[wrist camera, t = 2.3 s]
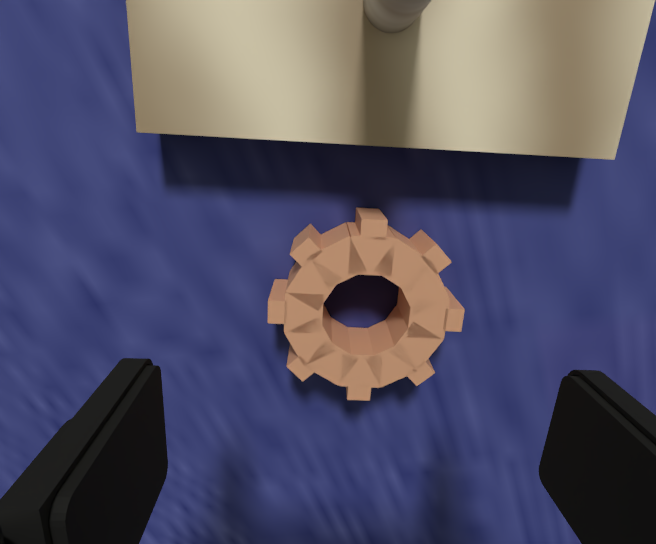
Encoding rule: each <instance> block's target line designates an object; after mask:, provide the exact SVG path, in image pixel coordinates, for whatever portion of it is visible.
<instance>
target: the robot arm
mask: <svg viewBox="0 0 656 544" xmlns="http://www.w3.org/2000/svg"><path fill="white" fill-rule="evenodd" d="M167 468H168V459H167V446H166V433H165V419H164V406H163V393H162V380H161V370H160V367H159V366H153V363H152V361H151V360H150V359H133V358H123V359H122V360H120V362H119V363H118V364H117V365H116V366H115V368H114V369H113V370H112V371H111V372H110V374H109V375H108V376H107V377H106V378H105V380H104V381H103V382H102V383H101V384H100V386H99V387H98V388H97V389H96V390H95V392H94V393H93V394H92V395H91V397H90V398H89V399H88V400H87V401H86V403H85V404H84V405H83V406H82V407H81V409H80V410H79V411H78V412H77V413H76V415H75V416H74V417H73V418H72V419H70V420H68V421H67V422H66V423H65V424H64V425H63V426H62V427H61V428H60V429H59V431H58V432H57V433H56V434H55V435H54V436H53V438H52V439H51V440H50V441H49V442H48V444H47V445H46V446H45V447H44V448H43V450H42V451H41V452H40V453H39V454H38V455H37V457H36V458H35V459H34V460H33V461H32V463H31V464H30V465H29V466H28V467H27V469H26V470H25V471H24V472H23V473H22V475H21V476H20V477H19V478H18V479H17V480H16V482H15V483H14V484H13V485H12V486H11V488H10V489H9V490H8V491H7V492H6V494H5V495H4V496H3V497H2V498H1V499H0V544H139V542H140V540H141V537H142V535H143V532H144V530H145V528H146V525H147V523H148V520H149V518H150V515H151V513H152V511H153V508H154V506H155V503H156V501H157V499H158V496H159V494H160V491H161V489H162V486H163V484H164V482H165V479H166V475H167ZM539 476H540V480H541V482H542V484H543V486H544V487H545V489H546V490H547V492H548V493H549V495H550V496H551V498H552V499H553V501H554V502H555V504H556V505H557V507H558V508H559V510H560V511H561V513H562V514H563V516H564V517H565V519H566V520H567V522H568V523H569V525H570V526H571V528H572V529H573V531H574V532H575V534H576V535H577V537H578V538H579V540H580V541H581V543H582V544H656V416H655V415H654V414H653V413H652V412H651V411H649V410H648V409H647V408H646V407H644V406H643V405H642V404H641V403H639V402H638V401H637V400H636V399H635V398H633V397H632V396H631V395H630V394H628V393H627V392H626V391H625V390H623V389H622V388H621V387H620V386H619V385H617V384H616V383H615V382H614V381H612V380H611V379H610V378H609V377H607V376H606V375H605V374H604V373H602V372H600V371H594V370H573V371H571V372H570V373H569V374H568V376H565V377H564V378H563V379H562V381H561V384H560V388H559V392H558V396H557V400H556V403H555V407H554V411H553V415H552V419H551V423H550V427H549V430H548V434H547V438H546V442H545V446H544V450H543V454H542V457H541V461H540V465H539Z"/></svg>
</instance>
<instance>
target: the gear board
mask: <svg viewBox="0 0 656 544" xmlns="http://www.w3.org/2000/svg"><path fill="white" fill-rule="evenodd" d="M654 2H655V0H126V5H127V17H128V30H129V42H130V55H131V67H132V80H133V92H134V105H135V118H136V130H137V132H141V133H159V134H176V135H194V136H211V137H229V138H246V139H263V140H281V141H298V142H316V143H333V144H351V145H368V146H385V147H403V148H420V149H438V150H455V151H473V152H490V153H507V154H525V155H542V156H560V157H577V158H595V159H612V160H614V159H615V155H616V151H617V147H618V144H619V140H620V136H621V132H622V128H623V124H624V120H625V116H626V112H627V108H628V104H629V100H630V96H631V93H632V89H633V85H634V81H635V77H636V73H637V69H638V65H639V61H640V57H641V53H642V49H643V45H644V42H645V38H646V34H647V30H648V26H649V22H650V18H651V14H652V10H653V6H654Z"/></svg>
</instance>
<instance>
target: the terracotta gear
mask: <svg viewBox="0 0 656 544" xmlns="http://www.w3.org/2000/svg"><path fill="white" fill-rule="evenodd" d="M387 224H388V220H387V219H386V217H385V216H384V215H383V213H382V212H381V211H380V210H379V209H375V208H356V216H355V222H347V224H346V222H345V223H343V224H341V225H339V226H337V227H335V228H333V229H331V230H329V231H327V232H325V233H323V234H320V233H319V232H318V231H317V230H316V229H315V228H314V227H313V226H312V225H311V224H309V225H308V226H307V227H306V228H305V229H304V230H303V231H302V232H300V233H299V234H298V235H297V236H296V237H295V238H294V240H293V244H292V248H291V252H290V255H291V256H292V257H293V258H294V259H295V260H296V263H295V264H294V266H293V267H292V269H291V270H290V273H289V277H288V280H285V279H275V281H274V284H273V287H272V290H271V293H270V296H269V299H268V323H274V324H284V334H285V335H286V337H287V339H288V340H289V342H290V347H289V354H288V361H287V367H288V368H289V369H290V370H291V371H292V372H293V373H294V374H295V375H296V376H297V377H298V378H299V379H300V380H301V381H302V382H303V381H304V380H305V379H307V378H308V377H309V376H310V375H312V374H313V373H314V372H315V373H316V374H318V375H320V376H322V377H324V378H325V379H327V380H329V381H331V382H332V383H334V384H336V385H338V386H339V385H340V386H345V387H346V393H347V400H365V401H370V395H371V388H380V387H383V386H386V385H388V384H390V383H392V382H395V381H397V380H399V379H402V378H404V377H406V376H407V377H408V378H409V379H410V380H411V381H412V382H413V383H414V384H415V385H416V386H418V385H419V384H421V383H422V382H423V381H425V380H426V379H427V378H429V377H430V376H431V375H433V374H434V373H435V371H434V369H433V367H432V365H431V363H430V361H429V359H428V358H429V357H430V356H431V355H432V353H433V352H434V351H435V350H436V349H437V347H438V346H439V345H440V344H441V342H442V341H443V339H444V335H445V331H456V332H461V329H462V323H463V317H464V311H465V309H464V308H463V307H462V306H461V304H460V303H459V302H458V301H457V299H456V298H455V297H454V296H453V295H452V293H451V292H450V291H449V290H448V289H447V287H444V285H443V283H442V281H441V279H440V276H439V274H438V273H439V272H440V271H441V270H443V269H444V268H445V267H446V266H448V265H449V264H450V263H451V260H450V259H449V258H448V257H447V256H446V255H445V253H444V252H443V251H442V250H441V249H440V247H439V246H438V245H437V244H436V243H435V242H434V241H433V240H432V239H431V238H430V237H429V236H428V235H427V234H426V233H425V232H423V231H422V230H420V231H418V232H417V233H416V234H415V235H414V236H412V237H411V238H410V239H408V238H407V237H405V236H404V235H402V234H400V233H399V232H397V231H396V230H394V229H393V228H391V227H390V226H388V225H387ZM356 275H378V276H383V277H385V278H386V279H388V280H389V281H391V282H393V283H394V284H396V285H397V286H399V291H398V300H397V305H396V306H395V308H394V309H393V310H392V312H391V313H390V314H389V316H388V317H387V318H386V320H384V321H382V322H379V323H377V324H375V325H373V326H371V327H369V328H354V327H346V326H345V325H343V324H341V323H340V322H338V321H336V320H335V319H333V318H331V316H330V315H329V313H328V311H327V309H326V307H325V306H324V304H323V303H324V302H325V300H326V299H327V297H328V296H329V295H330V293H331V292H332V290H333V289H334V287H335V286H336V285H337V284H339V283H341V282H343V281H345V280H348V279H350V278H352V277H354V276H356Z"/></svg>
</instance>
